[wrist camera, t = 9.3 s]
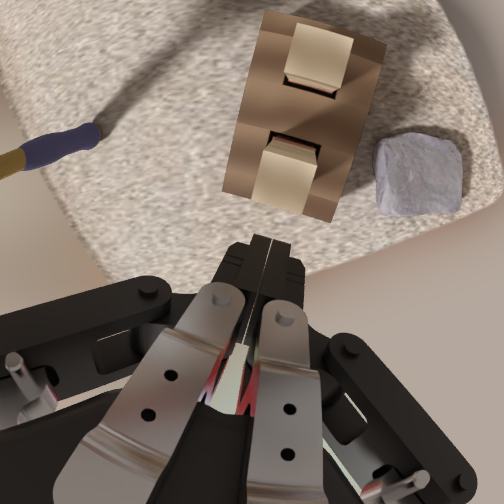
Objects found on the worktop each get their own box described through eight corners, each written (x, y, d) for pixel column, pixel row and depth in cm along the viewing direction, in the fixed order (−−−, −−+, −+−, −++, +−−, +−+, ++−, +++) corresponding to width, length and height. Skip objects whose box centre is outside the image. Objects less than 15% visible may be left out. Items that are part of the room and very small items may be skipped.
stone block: (365, 135, 32) (374, 214, 35) (374, 132, 28) (383, 221, 30) (446, 134, 30) (452, 208, 32) (463, 132, 25) (469, 214, 28)
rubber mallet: (116, 91, 32) (-94, 143, 6) (135, 136, 35) (-70, 234, 9) (63, 132, 36) (-101, 207, 10) (79, 172, 39) (-77, 271, 13)
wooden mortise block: (272, 24, 26) (265, 10, 21) (373, 53, 25) (386, 44, 20) (234, 177, 36) (221, 191, 31) (327, 204, 36) (330, 223, 30)
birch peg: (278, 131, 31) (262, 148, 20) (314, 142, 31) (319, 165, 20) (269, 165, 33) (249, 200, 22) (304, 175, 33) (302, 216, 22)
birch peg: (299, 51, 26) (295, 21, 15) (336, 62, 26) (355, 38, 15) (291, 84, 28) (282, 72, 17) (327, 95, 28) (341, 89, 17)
